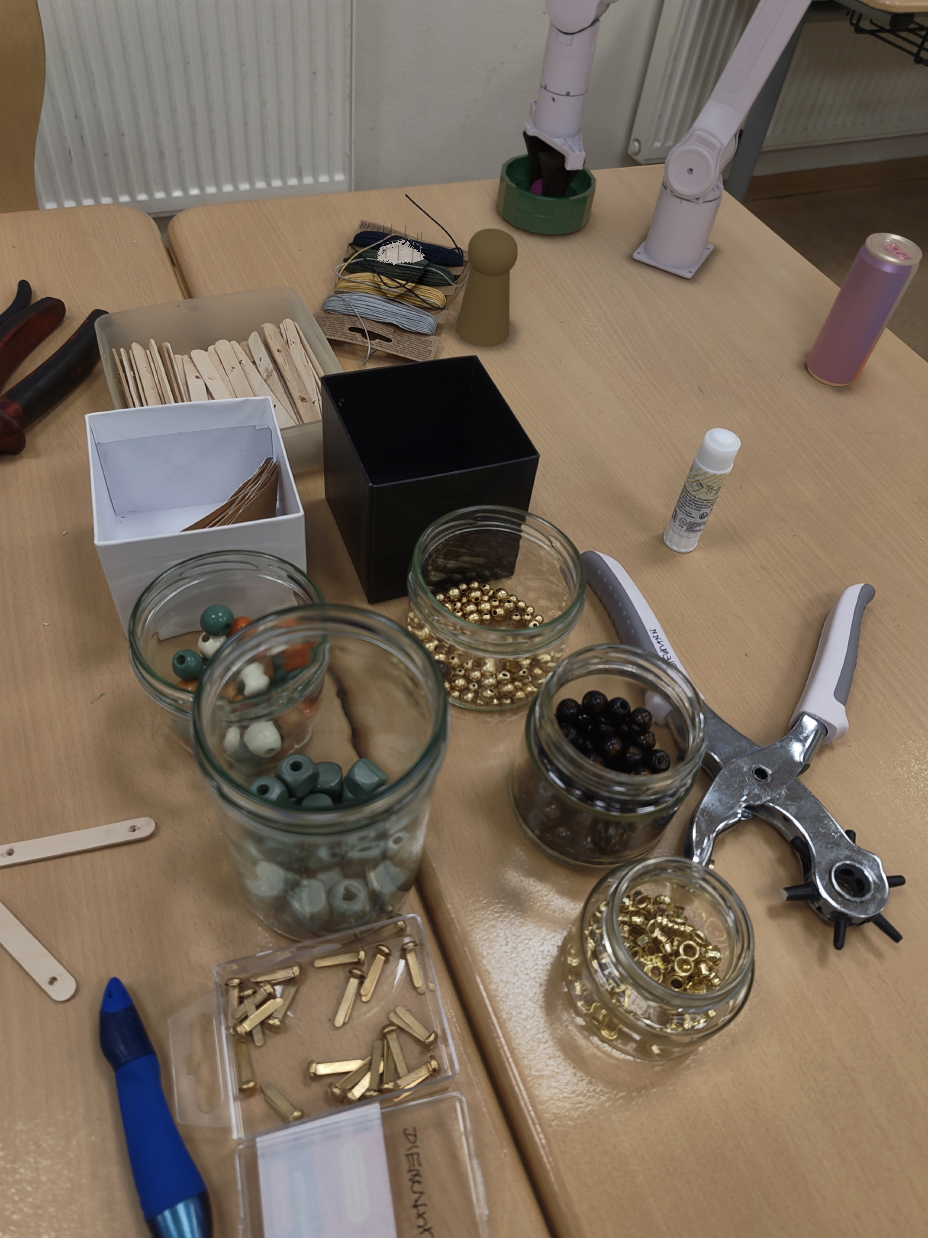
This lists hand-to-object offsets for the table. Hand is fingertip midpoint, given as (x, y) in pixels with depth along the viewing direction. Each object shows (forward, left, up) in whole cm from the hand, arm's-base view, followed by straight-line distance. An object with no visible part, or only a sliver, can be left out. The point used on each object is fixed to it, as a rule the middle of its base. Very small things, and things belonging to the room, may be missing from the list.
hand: (544, 200), depth 113 cm
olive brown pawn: (+28, +6, -2) cm, 29 cm away
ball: (0, 0, -1) cm, 1 cm away
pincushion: (+24, -7, -2) cm, 25 cm away
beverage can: (+11, +42, -2) cm, 44 cm away
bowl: (0, 0, -2) cm, 2 cm away
